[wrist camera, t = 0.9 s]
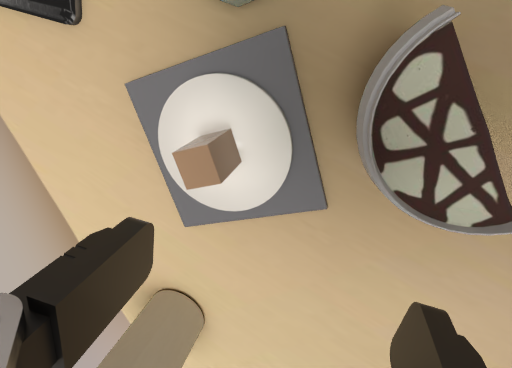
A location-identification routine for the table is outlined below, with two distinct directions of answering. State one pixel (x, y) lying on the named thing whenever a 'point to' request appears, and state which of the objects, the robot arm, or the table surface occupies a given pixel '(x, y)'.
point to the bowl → (237, 2)
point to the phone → (49, 9)
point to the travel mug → (158, 334)
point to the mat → (270, 79)
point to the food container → (432, 134)
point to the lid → (225, 141)
